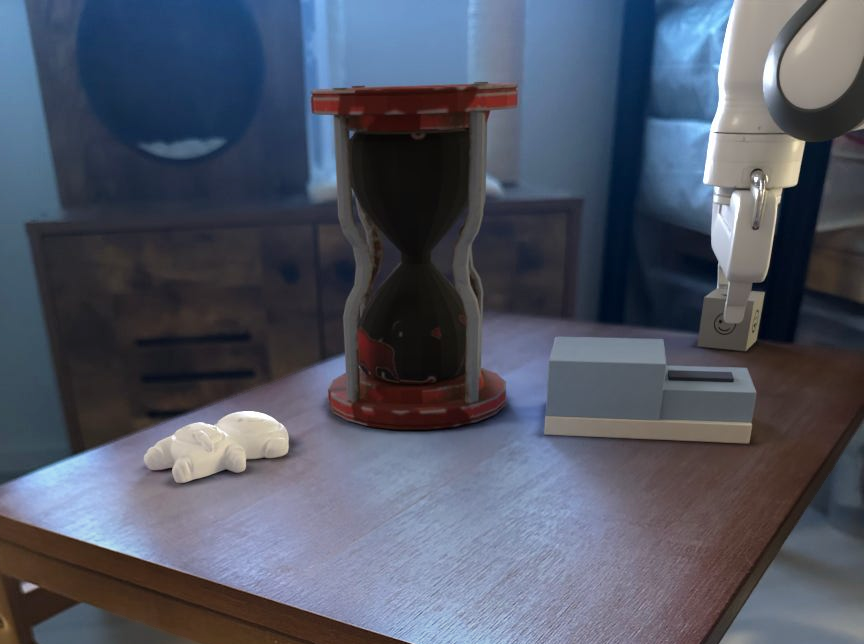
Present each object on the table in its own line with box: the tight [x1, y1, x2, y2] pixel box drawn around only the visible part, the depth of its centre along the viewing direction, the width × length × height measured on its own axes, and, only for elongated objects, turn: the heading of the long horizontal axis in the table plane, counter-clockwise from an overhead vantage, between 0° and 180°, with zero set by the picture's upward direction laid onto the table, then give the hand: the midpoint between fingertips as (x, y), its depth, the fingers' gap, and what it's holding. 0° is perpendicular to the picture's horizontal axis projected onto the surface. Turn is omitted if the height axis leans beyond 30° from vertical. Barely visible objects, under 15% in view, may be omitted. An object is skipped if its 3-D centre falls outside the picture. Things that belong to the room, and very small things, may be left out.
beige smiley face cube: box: [696, 287, 766, 352], centre depth 99 cm, size 5×5×5 cm
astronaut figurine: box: [143, 410, 290, 484], centre depth 74 cm, size 9×12×3 cm
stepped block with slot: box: [543, 336, 758, 445], centre depth 78 cm, size 16×8×6 cm, turn 77°
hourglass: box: [309, 81, 519, 431], centre depth 79 cm, size 16×16×25 cm
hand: (727, 311), depth 99 cm, fingers open, 8 cm apart
